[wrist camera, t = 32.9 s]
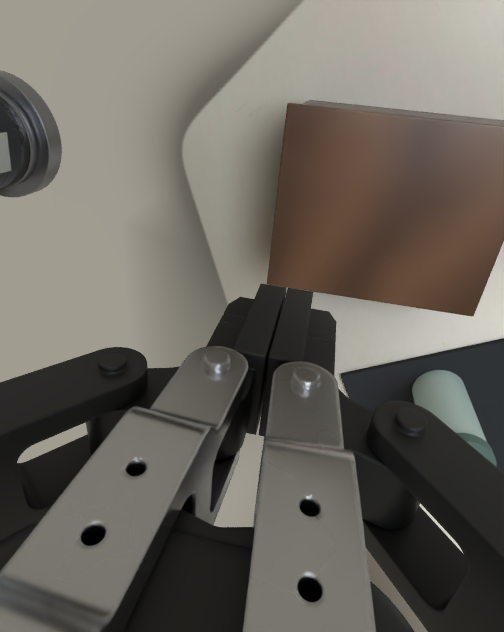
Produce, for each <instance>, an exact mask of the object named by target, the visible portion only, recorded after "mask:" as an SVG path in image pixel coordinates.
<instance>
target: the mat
mask: <svg viewBox="0 0 504 632" xmlns="http://www.w3.org/2000/svg"><path fill="white" fill-rule="evenodd" d="M433 370H446V371H450V372H452V373H454V374H456V375H458V376H459V377H460V378H461V379H462V381H463V383H464V385H465V388H466V390H467V393H468V396H469V398H470V401H471V403H472V406H473V408H474V411H475V413H476V416H477V418H478V421H479V423H480V426H481V428H482V431H483V433H484V436H485V438H486V441H487V443H488V444H489V445H490V447H491V448H492V451H493V453H494V456H495V458H496V463H497V464H496V467H497V468H498V469H500V470H501V471H502V472H503V473H504V339H500V340H495V341H490V342H486V343H481V344H476V345H472V346H467V347H463V348H458V349H453V350H449V351H444V352H439V353H435V354H430V355H425V356H421V357H416V358H411V359H407V360H402V361H397V362H393V363H388V364H384V365H379V366H374V367H370V368H365V369H360V370H356V371H351V372H346V373H342V374H341V377H342V380H343V382H344V385H345V388H346V390H347V393H348V395H349V398H350V400H352V401H354V402H356V403H358V404H360V405H362V406H364V407H367V408H369V409H371V410H375V408H376V407H377V406H378V405H380V404H381V403H383V402H387V401H394V400H397V401H406V402H410V403H413V404H415V403H414V398H413V394H412V387H413V384H414V382H415V381H416V379H417V378H418V377H420V376H421V375H422V374H424V373H426V372H429V371H433Z"/></svg>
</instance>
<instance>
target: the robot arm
mask: <svg viewBox="0 0 504 632" xmlns="http://www.w3.org/2000/svg"><path fill="white" fill-rule="evenodd" d="M36 160H37V143H36V138H35V135H34V131H33V129H32V126H31V124H30V122H29V120H28V118H27V117H26V115H25V113H24V112H23V111H22V109H21V108H20V107H19V106H18V104H17V103H16V102H15V101H14V100H13V99H11V98H10V97H9V96H8V95H6V94H5V93H4V92H2V91H0V188H3V187H10V186H13V185H17V184H19V183H22V182H23V181H25V180H26V179H27V178H28V177H29V176H30V175H31V173H32V172H33V170H34V168H35V165H36ZM285 295H286V297H285ZM312 296H313V292H311V291H304V290H298V289H292V288H288V290H287V293H286V288H285V287H279V286H273V285H267V284H261V285H260V287H259V289H258V292H257V294H256V296H255V299H249V298H244V297H239V298H238V299H236V300H235V301H233V302H231V303H230V304H229V305H228V306H227V308H226V310H225V312H224V315H223V316H222V318H221V320H220V323H219V324H218V325H217V327H216V329H215V331H214V333H213V335H212V337H211V339H210V341H209V343H208V344H207V346H206V347H203V348H200V349H197V350H195V351H193V352H192V353H190V354H189V355H188V356H187V358H186V359H185V360H184V362H183V363H182V365H181V366H180V367H174V368H148V369H147V361H146V358H145V357H144V356H143V355H142V354H141V353H140V352H138V351H136V350H133V349H129V348H123V347H113V348H106V349H102V350H98V351H95V352H92V353H89V354H86V355H83V356H80V357H77V358H74V359H71V360H68V361H65V362H62V363H59V364H56V365H53V366H49V367H47V368H43V369H40V370H37V371H34V372H31V373H28V374H25V375H22V376H19V377H16V378H13V379H10V380H7V381H4V382H1V383H0V632H414V631H413V629H412V628H411V626H410V625H409V623H408V622H407V620H406V619H405V618H404V616H403V615H402V614H401V612H400V611H399V610H398V609H397V608H396V606H395V605H394V604H393V603H392V602H391V600H390V599H389V598H388V597H387V596H386V595H385V594H384V593H383V592H382V591H381V590H380V589H379V588H377V587H376V586H375V585H374V584H373V583H372V582H370V578H369V569H368V561H367V553H366V548H367V549H368V551H369V552H370V553H371V555H372V556H373V558H374V559H375V560H376V561H377V563H378V564H379V566H380V567H381V568H382V570H383V571H384V572H385V574H386V575H387V576H388V578H389V579H390V581H391V582H392V583H393V585H394V586H395V587H396V589H397V590H398V592H399V593H400V594H401V596H402V597H403V598H404V600H405V601H406V602H407V604H408V605H409V606H410V608H411V609H412V610H413V612H414V613H415V614H416V616H417V617H418V618H419V620H420V621H421V623H422V624H423V625H424V627H425V628H426V630H427V631H428V632H504V473H503V472H502V471H501V470H500V469H498V468H497V467H496V466H495V465H494V464H492V463H491V462H490V461H489V460H488V459H486V458H485V457H484V456H483V455H482V454H480V453H479V452H478V451H477V450H476V449H475V448H473V447H472V446H471V445H470V444H469V443H467V442H466V441H465V440H464V439H463V438H461V437H460V436H459V435H458V434H457V433H455V432H454V431H453V430H452V429H451V428H450V427H448V426H447V425H446V424H445V423H444V422H442V421H441V420H440V419H439V418H438V417H436V416H435V415H434V414H433V413H431V412H430V411H428V410H427V409H425V408H423V407H421V406H419V405H416V404H413V403H410V402H406V401H397V400H394V401H387V402H383V403H381V404H380V405H378V406H377V407H376V408H375V410H371V409H369V408H367V407H364V406H362V405H360V404H358V403H356V402H354V401H352V400H350V399H349V398H348V397H346V396H345V395H344V394H343V393H342V392H341V391H340V390H339V389H338V383H337V381H336V379H335V377H334V367H335V340H336V335H335V334H336V321H335V320H334V318H333V317H332V315H331V314H330V312H328V311H322V310H316V309H311V303H312ZM260 417H261V421H260ZM259 421H260V429H259V435H260V436H264V444H263V450H262V457H261V465H260V473H259V482H258V489H257V497H256V505H255V513H254V521H253V527H235V528H234V527H230V528H229V527H227V528H223V527H216V526H213V525H214V522H215V519H216V516H217V514H218V511H219V509H220V506H221V503H222V501H223V498H224V496H225V493H226V491H227V488H228V486H229V483H230V480H231V478H232V475H233V473H234V470H235V467H236V465H237V462H238V459H239V453H240V448H241V447H242V445H243V441H244V438H245V435H246V433H250V434H255V435H256V432H257V428H258V424H259ZM85 422H86V425H87V432H88V435H85V436H83V437H81V438H79V439H76V440H75V441H72V442H70V443H67V444H65V445H63V446H61V447H58V448H56V449H54V450H52V451H49V452H48V453H45V454H43V455H41V456H38V457H36V458H34V459H31V460H29V461H27V462H24V463H17V460H18V458H19V456H20V455H21V454H22V453H23V451H24V450H26V449H27V448H28V447H30V446H31V445H34V444H36V443H38V442H40V441H43V440H45V439H47V438H49V437H52V436H54V435H57V434H59V433H61V432H63V431H66V430H68V429H71V428H73V427H75V426H78V425H80V424H83V423H85ZM420 503H421V504H422V505H423V506H424V508H425V509H426V510H427V511H428V512H429V513H430V514H431V515H432V516H433V517H434V518H435V519H436V520H437V522H438V523H439V524H440V525H441V526H442V527H443V528H444V529H445V530H446V531H447V532H448V533H449V534H450V536H451V537H452V538H453V539H454V540H455V541H456V542H457V543H458V545H459V546H460V548H461V549H462V551H463V553H464V554H463V553H462V552H461V551H460V550H459V549H458V548H457V547H456V545H455V544H454V543H453V542H452V541H451V540H450V539H449V538H448V537H447V536H446V535H445V533H444V532H443V531H442V530H441V529H440V528H439V527H438V526H437V525H436V524H435V523H434V522H433V520H432V519H431V518H430V517H429V516H428V515H427V514H426V513H425V512H424V511H423V510H422V508H421V507H420V506H419V505H420Z"/></svg>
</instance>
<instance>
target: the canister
mask: <svg viewBox="0 0 504 632" xmlns="http://www.w3.org/2000/svg"><path fill="white" fill-rule="evenodd" d="M412 394H413V398H414V403H415V404H416V405H419V406H421V407H423V408H425V409H427V410H428V411H430V412H431V413H433V414H434V415H435V416H436V417H438V418H439V419H440V420H441V421H442V422H444V423H445V424H446V425H447V426H448V427H450V428H451V429H452V430H453V431H454V432H455V433H457V434H458V435H459V436H460V437H461V438H463V439H464V440H465V441H466V442H467V443H469V444H470V445H471V446H472V447H473V448H475V449H476V450H477V451H478V452H479V453H480V454H482V455H483V456H484V457H485V458H486V459H488V460H489V461H490V462H491V463H492V464H494V465H495V466H496V464H497V463H496V458H495V456H494V453H493V451H492V448H491V447H490V445H489V444H488V443H487V441H486V438H485V436H484V433H483V431H482V428H481V426H480V423H479V421H478V418H477V416H476V413H475V411H474V408H473V406H472V403H471V401H470V398H469V396H468V393H467V390H466V388H465V385H464V383H463V381H462V379H461V378H460V377H459V376H458V375H456V374H454V373H452V372H450V371H446V370H433V371H429V372H426V373H424V374H422V375H421V376H420V377H418V378H417V379H416V381H415V382H414V384H413V387H412Z"/></svg>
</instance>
